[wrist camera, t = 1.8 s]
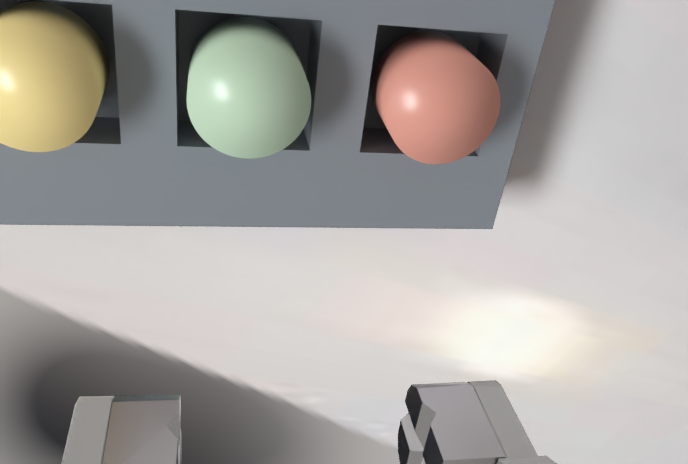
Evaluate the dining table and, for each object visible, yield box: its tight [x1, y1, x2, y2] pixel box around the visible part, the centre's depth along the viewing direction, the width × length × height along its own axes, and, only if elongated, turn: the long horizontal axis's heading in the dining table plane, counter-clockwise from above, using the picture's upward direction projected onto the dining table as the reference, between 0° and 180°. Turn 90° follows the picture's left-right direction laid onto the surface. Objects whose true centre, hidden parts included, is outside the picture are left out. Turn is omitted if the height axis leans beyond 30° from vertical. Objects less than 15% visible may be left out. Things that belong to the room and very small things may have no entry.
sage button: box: [186, 17, 311, 159], centre depth 24 cm, size 4×4×3 cm
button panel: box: [0, 0, 555, 229], centre depth 25 cm, size 22×12×4 cm, turn 83°
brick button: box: [371, 31, 500, 164], centre depth 25 cm, size 4×4×3 cm
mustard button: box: [0, 1, 109, 152], centre depth 22 cm, size 4×4×3 cm
